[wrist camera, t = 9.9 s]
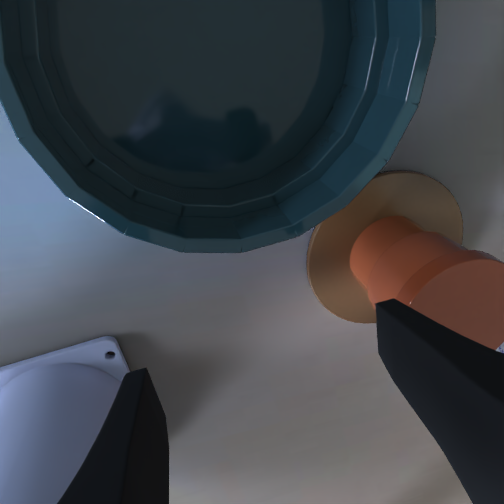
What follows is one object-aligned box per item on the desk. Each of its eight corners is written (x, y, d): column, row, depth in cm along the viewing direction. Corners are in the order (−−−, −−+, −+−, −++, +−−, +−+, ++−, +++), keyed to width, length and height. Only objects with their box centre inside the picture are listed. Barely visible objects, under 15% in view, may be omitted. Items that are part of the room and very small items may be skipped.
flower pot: (436, 282, 26) (518, 352, 21) (343, 310, 26) (402, 391, 20) (435, 190, 24) (529, 242, 18) (331, 220, 23) (395, 283, 17)
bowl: (380, 165, 23) (437, 197, 18) (97, 242, 21) (87, 297, 17) (354, -217, 16) (434, -309, 12) (-59, -144, 15) (-143, -217, 10)
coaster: (457, 294, 28) (462, 297, 27) (317, 338, 27) (320, 342, 26) (460, 150, 23) (465, 152, 23) (294, 196, 23) (296, 199, 22)
